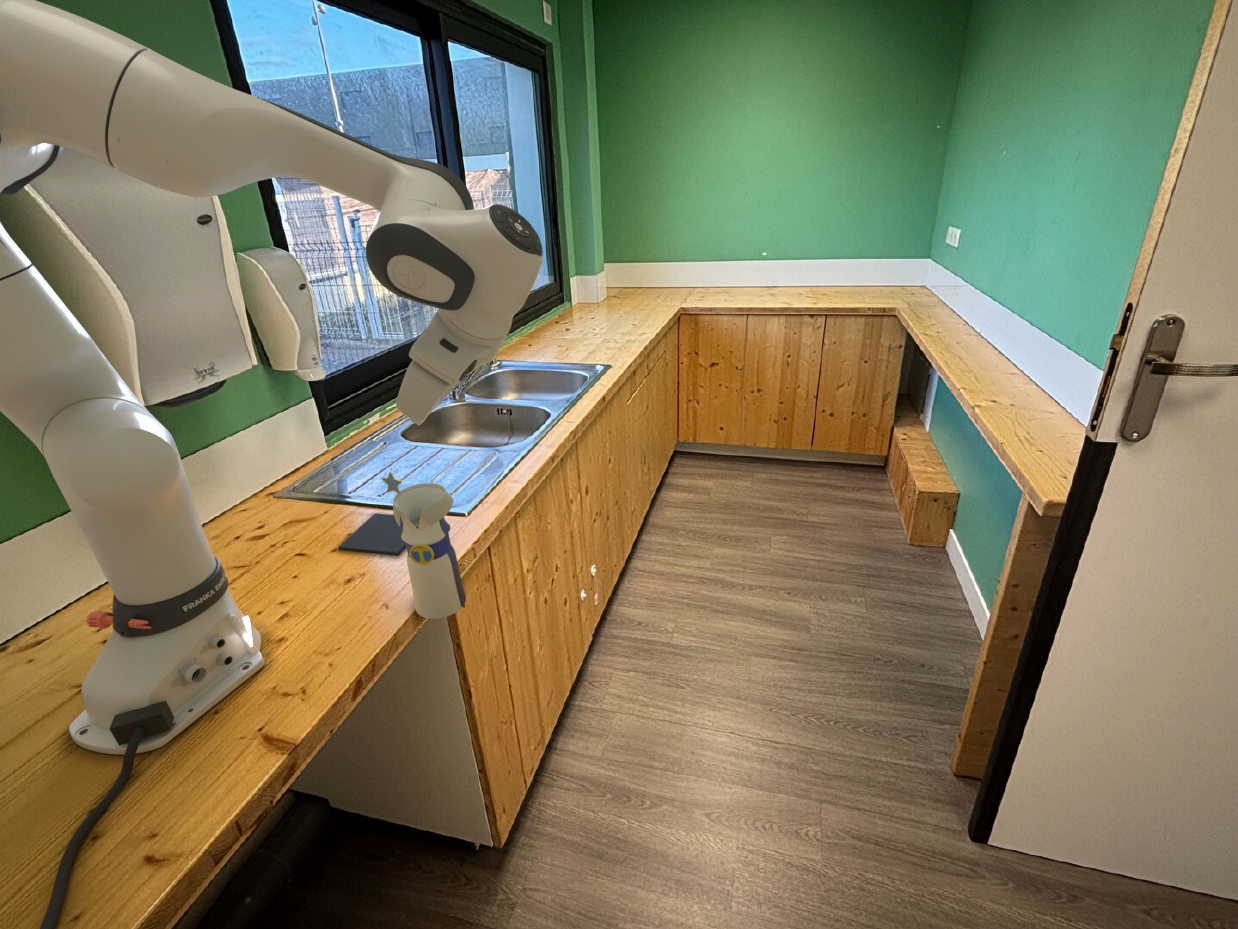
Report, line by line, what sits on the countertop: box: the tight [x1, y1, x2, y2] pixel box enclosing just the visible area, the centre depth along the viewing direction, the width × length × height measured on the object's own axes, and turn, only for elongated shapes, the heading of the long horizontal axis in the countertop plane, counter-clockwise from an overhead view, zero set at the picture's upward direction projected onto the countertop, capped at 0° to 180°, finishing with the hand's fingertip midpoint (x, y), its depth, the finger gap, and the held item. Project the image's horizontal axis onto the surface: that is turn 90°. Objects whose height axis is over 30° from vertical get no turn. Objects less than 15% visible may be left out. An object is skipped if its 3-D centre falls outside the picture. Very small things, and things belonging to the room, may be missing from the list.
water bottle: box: [380, 471, 467, 620], centre depth 89 cm, size 8×9×25 cm
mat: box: [337, 513, 407, 556], centre depth 113 cm, size 12×12×1 cm
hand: (434, 401), depth 84 cm, fingers open, 8 cm apart
